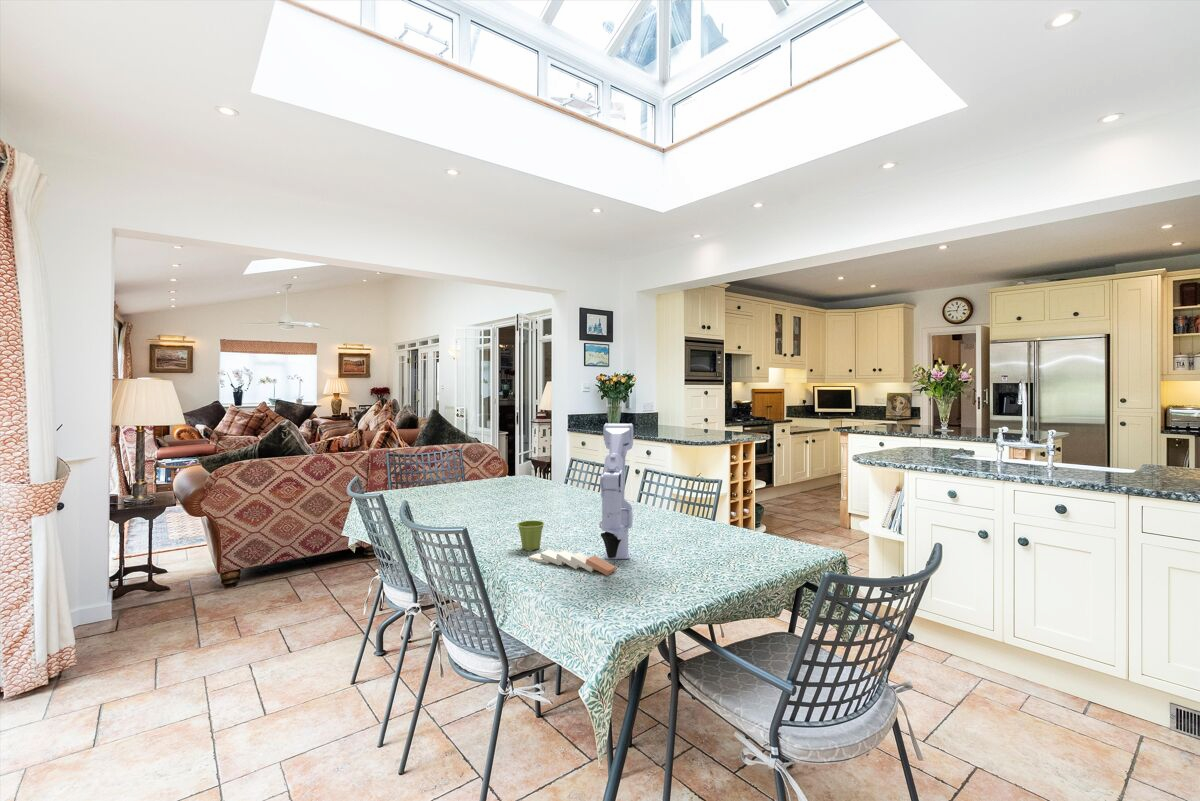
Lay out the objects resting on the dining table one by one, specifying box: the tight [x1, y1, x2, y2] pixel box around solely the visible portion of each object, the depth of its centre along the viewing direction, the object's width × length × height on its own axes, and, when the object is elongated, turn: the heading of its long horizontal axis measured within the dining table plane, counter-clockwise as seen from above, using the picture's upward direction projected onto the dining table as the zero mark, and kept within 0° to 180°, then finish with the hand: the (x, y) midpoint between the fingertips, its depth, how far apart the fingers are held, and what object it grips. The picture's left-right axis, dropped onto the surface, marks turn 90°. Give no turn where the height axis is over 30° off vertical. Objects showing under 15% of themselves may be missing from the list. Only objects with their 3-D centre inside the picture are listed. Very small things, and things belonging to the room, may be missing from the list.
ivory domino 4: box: [570, 552, 597, 573], centre depth 166 cm, size 2×4×8 cm
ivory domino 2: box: [540, 549, 565, 566], centre depth 172 cm, size 2×4×8 cm
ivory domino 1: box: [528, 553, 551, 564], centre depth 175 cm, size 2×4×8 cm
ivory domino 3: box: [556, 549, 582, 570], centre depth 169 cm, size 2×4×8 cm
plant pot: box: [517, 519, 545, 551], centre depth 187 cm, size 9×9×9 cm
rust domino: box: [585, 554, 617, 576], centre depth 163 cm, size 2×4×8 cm
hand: (611, 557), depth 161 cm, fingers closed
